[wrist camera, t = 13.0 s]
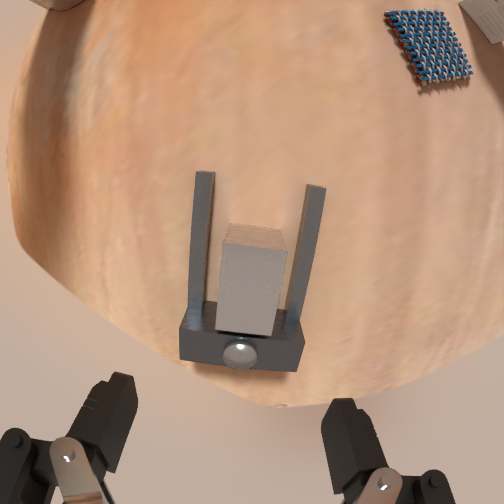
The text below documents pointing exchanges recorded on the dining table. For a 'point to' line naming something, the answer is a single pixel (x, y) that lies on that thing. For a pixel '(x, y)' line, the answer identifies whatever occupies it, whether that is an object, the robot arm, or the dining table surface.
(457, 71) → the woven mat
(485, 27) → the small box
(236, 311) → the block
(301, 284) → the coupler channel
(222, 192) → the dining table surface
